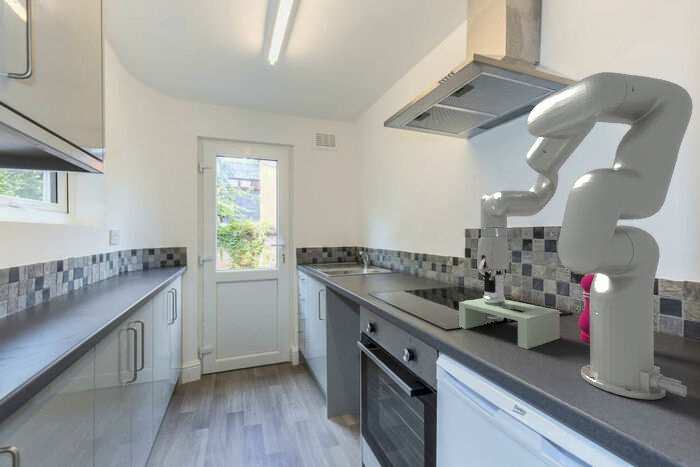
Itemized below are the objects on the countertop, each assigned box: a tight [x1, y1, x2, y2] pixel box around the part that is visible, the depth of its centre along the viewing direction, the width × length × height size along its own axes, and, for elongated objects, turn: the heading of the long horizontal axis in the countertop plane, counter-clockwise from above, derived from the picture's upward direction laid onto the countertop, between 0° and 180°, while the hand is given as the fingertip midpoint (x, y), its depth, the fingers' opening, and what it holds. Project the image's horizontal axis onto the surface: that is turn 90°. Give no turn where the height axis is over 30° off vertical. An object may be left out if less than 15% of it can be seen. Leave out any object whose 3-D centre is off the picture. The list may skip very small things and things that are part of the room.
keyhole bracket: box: [458, 297, 561, 350], centre depth 93 cm, size 22×16×8 cm
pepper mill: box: [578, 275, 595, 344], centre depth 85 cm, size 7×7×20 cm
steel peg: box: [482, 273, 506, 322], centre depth 96 cm, size 6×6×14 cm
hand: (494, 290), depth 96 cm, fingers closed on steel peg, 4 cm apart
